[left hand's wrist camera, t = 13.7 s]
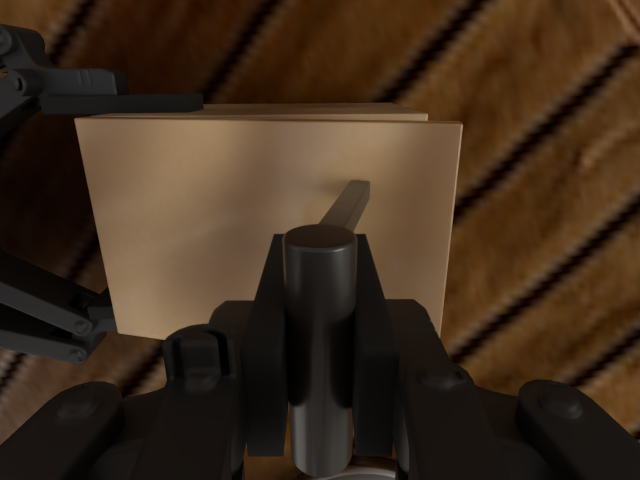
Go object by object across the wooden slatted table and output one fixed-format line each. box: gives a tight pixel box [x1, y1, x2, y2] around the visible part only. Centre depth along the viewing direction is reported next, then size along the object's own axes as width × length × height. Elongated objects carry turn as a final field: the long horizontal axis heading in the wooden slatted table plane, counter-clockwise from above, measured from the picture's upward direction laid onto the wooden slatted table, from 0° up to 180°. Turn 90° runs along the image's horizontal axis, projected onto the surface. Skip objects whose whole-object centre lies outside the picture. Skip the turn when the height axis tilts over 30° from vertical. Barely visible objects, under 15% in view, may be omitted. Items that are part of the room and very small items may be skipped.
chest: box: [95, 103, 428, 121], centre depth 23 cm, size 14×10×9 cm
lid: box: [74, 116, 463, 478], centre depth 14 cm, size 14×10×8 cm
